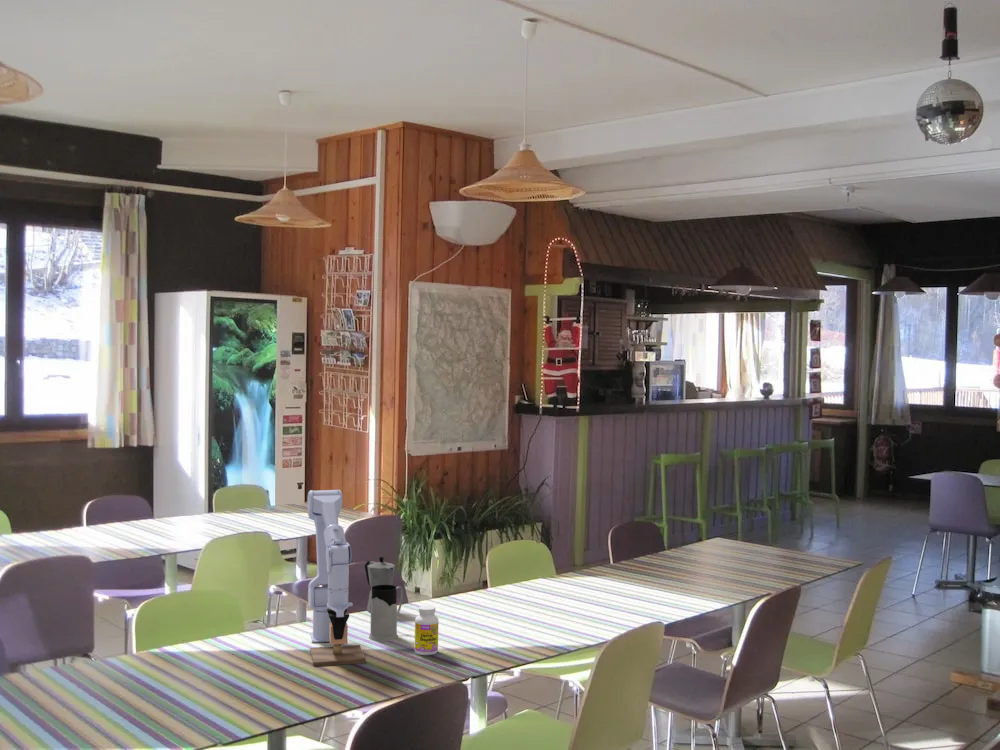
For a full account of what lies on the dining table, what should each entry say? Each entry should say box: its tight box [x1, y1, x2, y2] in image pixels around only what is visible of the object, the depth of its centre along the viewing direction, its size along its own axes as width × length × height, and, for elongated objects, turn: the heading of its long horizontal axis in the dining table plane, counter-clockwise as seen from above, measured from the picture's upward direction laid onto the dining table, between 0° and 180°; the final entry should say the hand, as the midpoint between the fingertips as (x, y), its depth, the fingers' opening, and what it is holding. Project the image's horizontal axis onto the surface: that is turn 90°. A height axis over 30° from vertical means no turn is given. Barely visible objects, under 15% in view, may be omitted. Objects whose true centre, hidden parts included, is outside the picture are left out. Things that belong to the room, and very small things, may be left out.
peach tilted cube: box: [329, 622, 349, 646], centre depth 270 cm, size 5×5×5 cm
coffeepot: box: [364, 556, 396, 614], centre depth 323 cm, size 15×9×18 cm, turn 44°
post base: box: [310, 644, 366, 667], centre depth 270 cm, size 14×14×5 cm
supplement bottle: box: [414, 605, 439, 656], centre depth 275 cm, size 7×7×13 cm
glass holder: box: [368, 584, 404, 642], centre depth 293 cm, size 9×14×15 cm, turn 152°
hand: (337, 636), depth 270 cm, fingers closed on peach tilted cube, 5 cm apart
